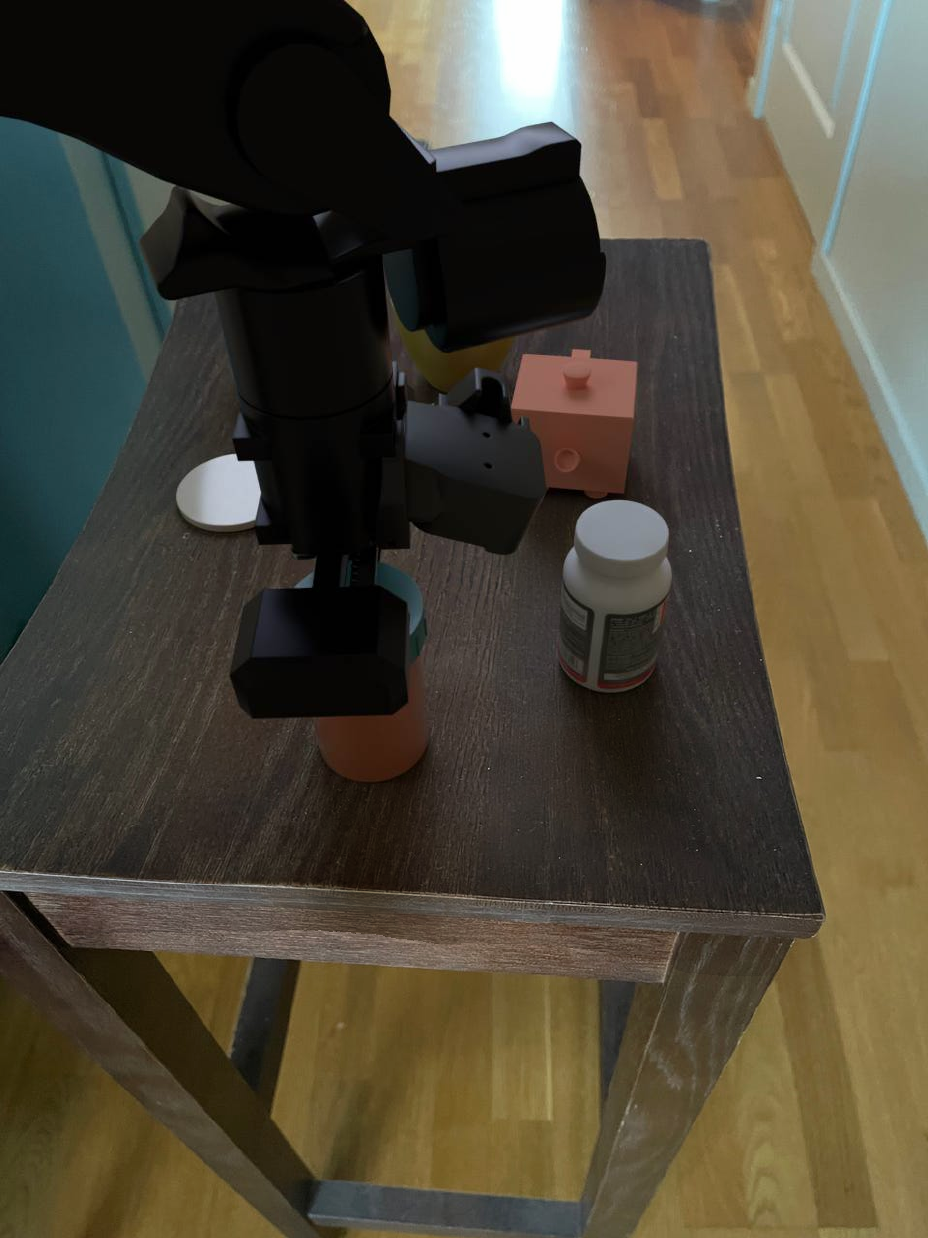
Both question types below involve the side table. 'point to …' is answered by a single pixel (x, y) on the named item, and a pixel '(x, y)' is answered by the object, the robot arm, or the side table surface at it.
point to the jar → (377, 737)
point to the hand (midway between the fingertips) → (359, 654)
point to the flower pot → (450, 357)
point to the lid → (402, 588)
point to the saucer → (220, 495)
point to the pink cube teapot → (579, 418)
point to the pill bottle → (614, 596)
